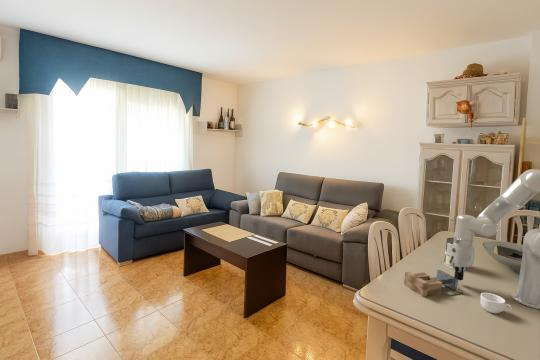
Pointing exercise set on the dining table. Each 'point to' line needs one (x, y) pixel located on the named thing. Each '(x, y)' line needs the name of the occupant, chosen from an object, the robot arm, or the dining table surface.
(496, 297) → the teacup
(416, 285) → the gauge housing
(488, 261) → the dining table surface
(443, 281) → the grey angular frame piece
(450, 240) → the coffee can
